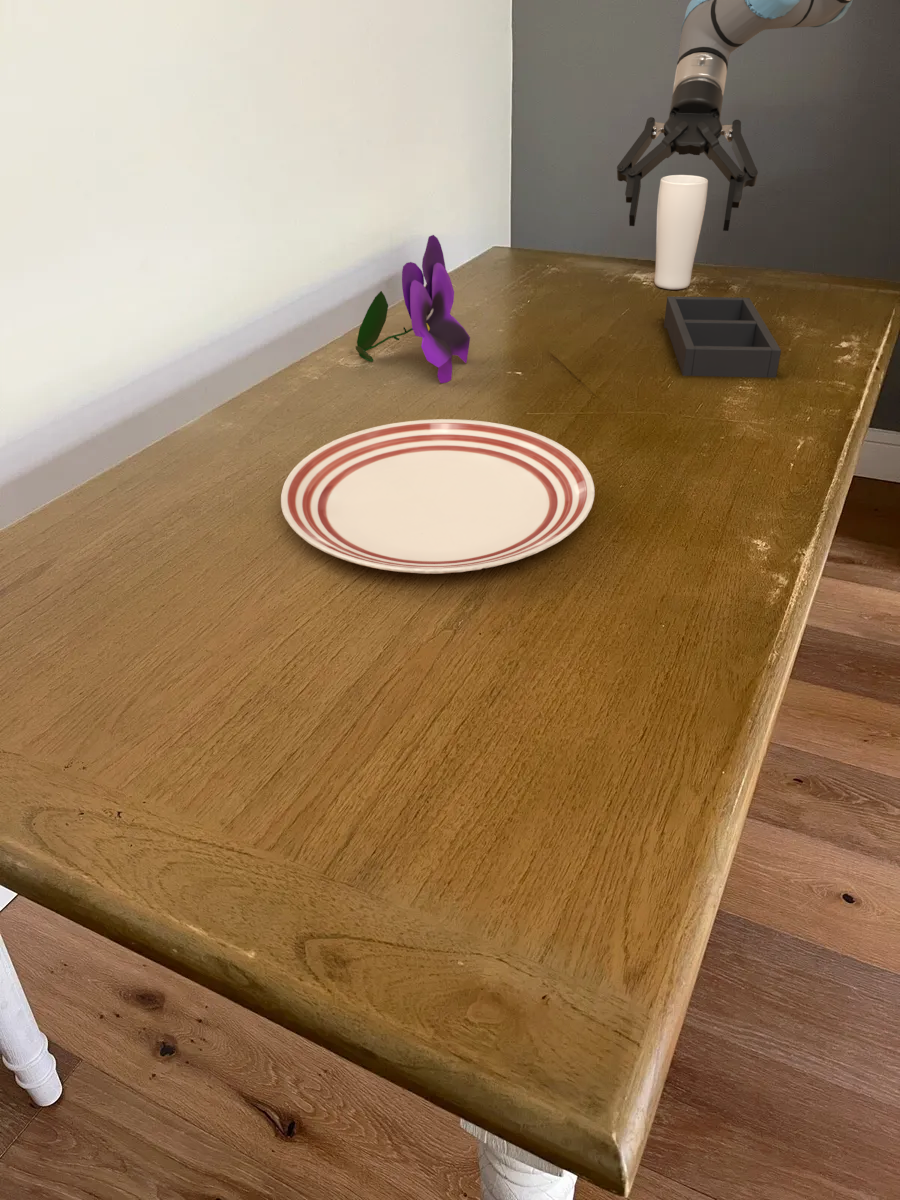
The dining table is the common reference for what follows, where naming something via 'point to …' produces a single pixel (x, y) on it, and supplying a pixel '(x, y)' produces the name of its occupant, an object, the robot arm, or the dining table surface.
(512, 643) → the dining table surface
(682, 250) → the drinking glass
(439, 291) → the flower
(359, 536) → the dinner plate
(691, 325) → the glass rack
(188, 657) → the dining table surface
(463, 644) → the dining table surface
